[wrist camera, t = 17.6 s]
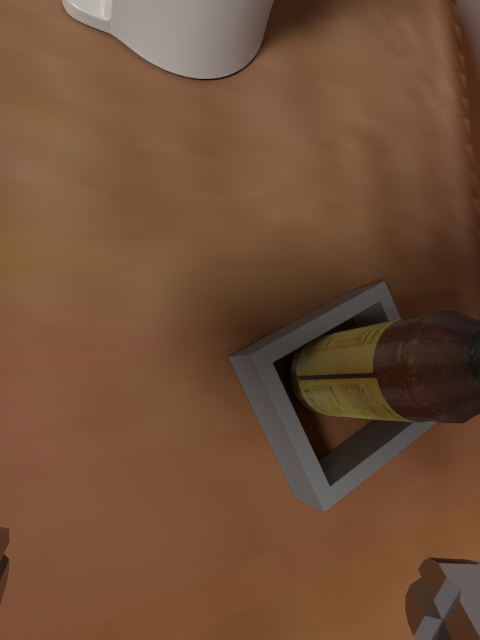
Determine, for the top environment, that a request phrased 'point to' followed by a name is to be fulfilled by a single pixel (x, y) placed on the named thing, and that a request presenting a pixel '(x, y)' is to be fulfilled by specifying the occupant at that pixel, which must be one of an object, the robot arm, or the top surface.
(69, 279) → the top surface
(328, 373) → the sauce bottle
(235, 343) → the top surface
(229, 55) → the robot arm
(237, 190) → the top surface
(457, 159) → the top surface
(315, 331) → the bottle collar
